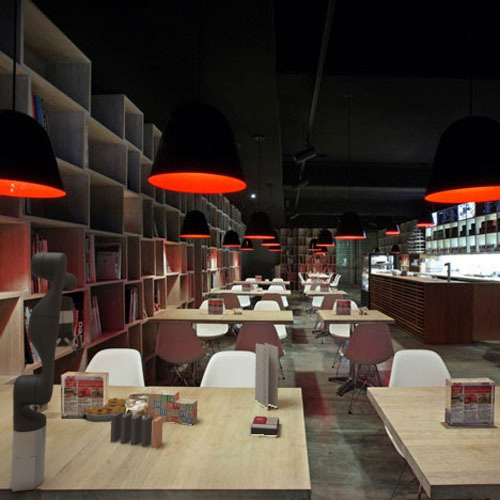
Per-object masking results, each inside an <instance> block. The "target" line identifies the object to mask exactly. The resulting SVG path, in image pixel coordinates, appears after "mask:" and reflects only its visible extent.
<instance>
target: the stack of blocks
mask: <svg viewBox="0 0 500 500" xmlns="http://www.w3.org/2000/svg"><path fill="white" fill-rule="evenodd" d="M147 395H148V399H147V400H148V401H147V412H148V414H147V416H148V415H150V416H152V422H153V420H155V419H156V418H158V417H163V423H165V422H175V423H174V424H176V423H185V424H184V425H186V423H187V424H193V423H194V422H195V421H196V420H197V421H198V399H193V398H181V397H180V391H179V390H178V391H177V390H164V389H163V390H161V389H153V390H152V391H150V392H149V393H148V394H147ZM197 421H196V422H197ZM196 422H195V423H196ZM195 423H194V424H195ZM194 424H193V425H194Z"/></svg>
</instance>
